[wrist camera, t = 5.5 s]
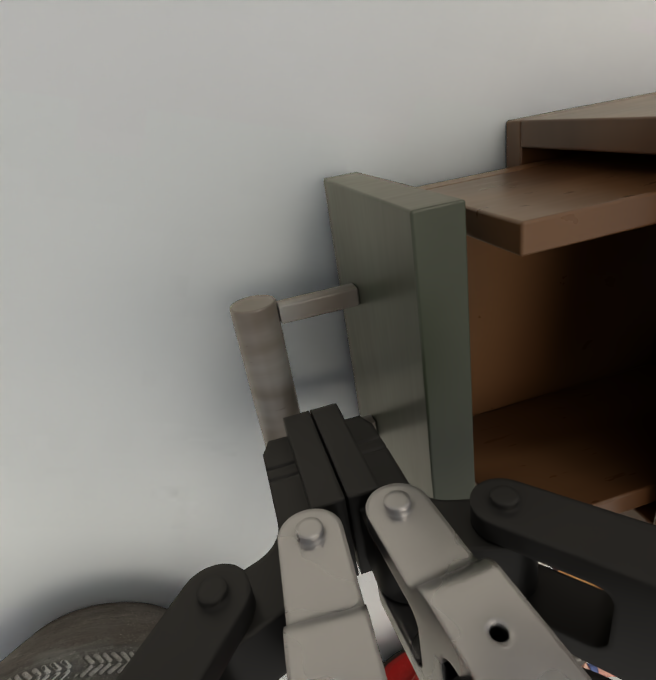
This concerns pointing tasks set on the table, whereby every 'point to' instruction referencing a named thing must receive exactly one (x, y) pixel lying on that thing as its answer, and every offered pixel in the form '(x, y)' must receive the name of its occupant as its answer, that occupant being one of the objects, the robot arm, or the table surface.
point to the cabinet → (588, 135)
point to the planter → (84, 644)
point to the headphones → (399, 667)
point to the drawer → (491, 326)
